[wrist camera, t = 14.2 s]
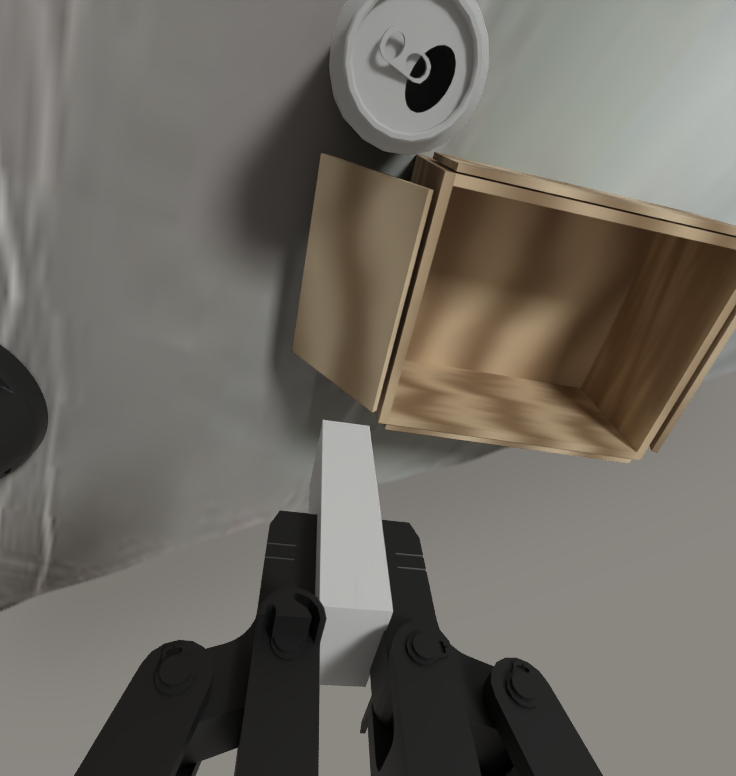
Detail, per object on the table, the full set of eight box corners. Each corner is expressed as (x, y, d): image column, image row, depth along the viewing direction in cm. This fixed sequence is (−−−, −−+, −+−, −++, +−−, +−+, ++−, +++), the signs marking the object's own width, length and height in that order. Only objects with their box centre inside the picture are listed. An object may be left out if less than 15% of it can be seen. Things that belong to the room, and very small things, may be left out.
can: (398, 165, 34) (427, 191, 24) (307, 92, 32) (295, 86, 21) (469, 61, 31) (536, 39, 21) (375, -28, 29) (399, -104, 18)
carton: (367, 363, 42) (376, 430, 33) (418, 146, 33) (448, 160, 25) (578, 397, 45) (636, 466, 36) (672, 206, 37) (776, 237, 28)
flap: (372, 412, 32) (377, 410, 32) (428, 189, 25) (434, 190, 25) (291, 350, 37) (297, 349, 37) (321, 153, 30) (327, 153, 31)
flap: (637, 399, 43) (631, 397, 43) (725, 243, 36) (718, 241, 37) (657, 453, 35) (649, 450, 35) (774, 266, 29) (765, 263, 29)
